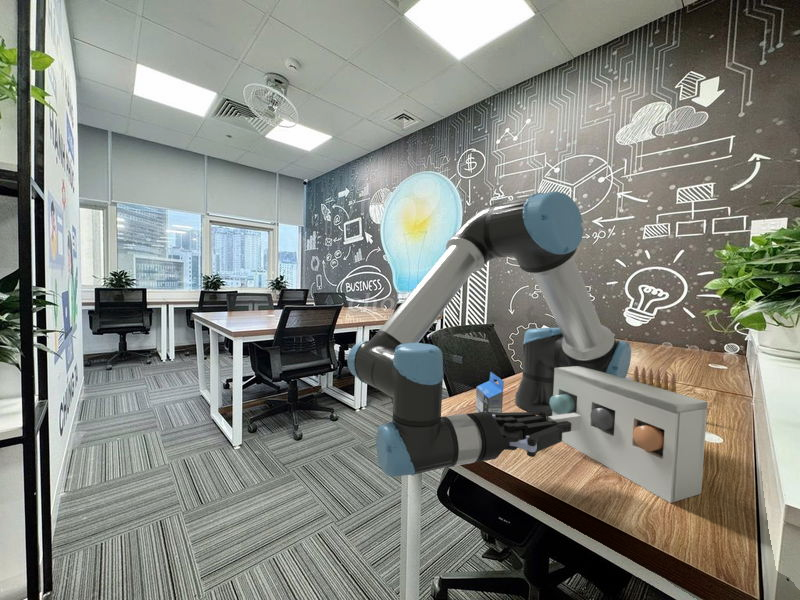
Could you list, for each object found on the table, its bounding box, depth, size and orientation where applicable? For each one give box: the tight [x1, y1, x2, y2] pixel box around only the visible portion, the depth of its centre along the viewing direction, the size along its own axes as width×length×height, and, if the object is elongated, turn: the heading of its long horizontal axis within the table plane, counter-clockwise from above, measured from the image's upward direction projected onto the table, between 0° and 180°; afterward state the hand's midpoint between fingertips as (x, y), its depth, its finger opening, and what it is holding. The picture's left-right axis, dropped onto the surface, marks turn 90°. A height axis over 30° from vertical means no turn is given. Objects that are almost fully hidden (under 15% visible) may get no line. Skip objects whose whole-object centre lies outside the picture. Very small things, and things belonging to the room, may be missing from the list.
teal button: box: [550, 394, 575, 414], centre depth 72 cm, size 4×3×4 cm
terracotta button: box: [633, 424, 665, 451], centre depth 56 cm, size 4×3×4 cm
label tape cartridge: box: [475, 371, 505, 413], centre depth 81 cm, size 9×4×12 cm, turn 6°
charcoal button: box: [590, 407, 615, 430], centre depth 64 cm, size 4×3×4 cm
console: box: [552, 366, 708, 504], centre depth 65 cm, size 25×8×16 cm, turn 20°
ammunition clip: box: [632, 365, 677, 393], centre depth 94 cm, size 11×2×12 cm, turn 36°
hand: (577, 421), depth 62 cm, fingers closed
